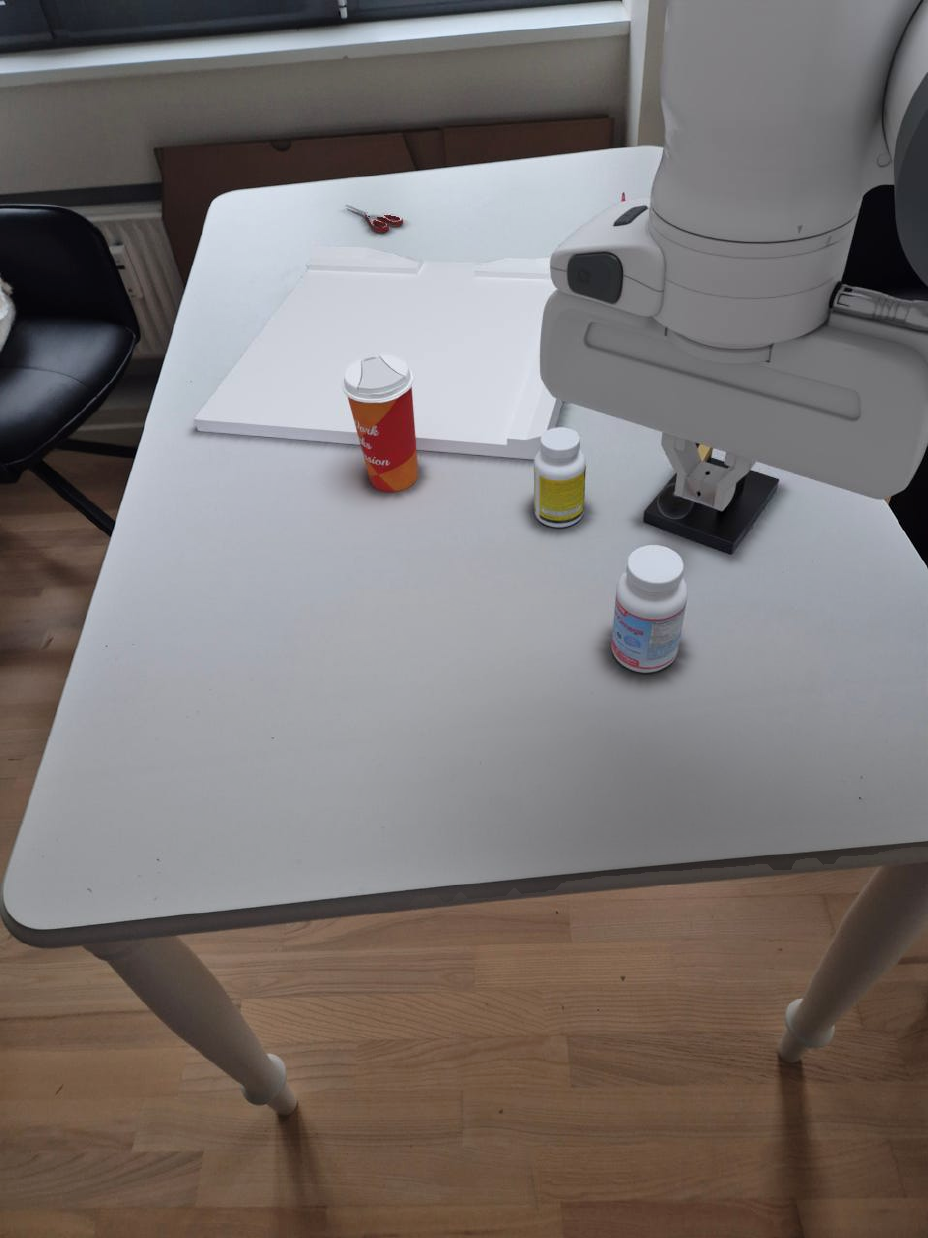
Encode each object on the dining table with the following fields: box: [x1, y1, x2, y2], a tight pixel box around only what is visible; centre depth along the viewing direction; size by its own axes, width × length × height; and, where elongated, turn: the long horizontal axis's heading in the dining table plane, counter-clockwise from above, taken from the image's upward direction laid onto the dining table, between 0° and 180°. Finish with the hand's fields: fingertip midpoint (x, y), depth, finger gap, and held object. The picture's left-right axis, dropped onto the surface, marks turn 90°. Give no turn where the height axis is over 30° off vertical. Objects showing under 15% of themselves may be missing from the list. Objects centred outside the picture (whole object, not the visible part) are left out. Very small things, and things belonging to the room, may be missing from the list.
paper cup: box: [342, 355, 419, 493], centre depth 96 cm, size 8×8×14 cm
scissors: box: [345, 204, 404, 233], centre depth 151 cm, size 5×14×1 cm, turn 41°
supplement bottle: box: [533, 426, 587, 528], centre depth 91 cm, size 5×5×10 cm
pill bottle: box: [611, 544, 689, 674], centre depth 76 cm, size 6×6×11 cm
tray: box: [193, 245, 564, 461], centre depth 119 cm, size 45×45×4 cm
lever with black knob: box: [657, 444, 714, 519], centre depth 83 cm, size 14×3×3 cm, turn 145°
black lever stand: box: [642, 442, 780, 555], centre depth 88 cm, size 12×10×14 cm
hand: (703, 497), depth 50 cm, fingers closed
